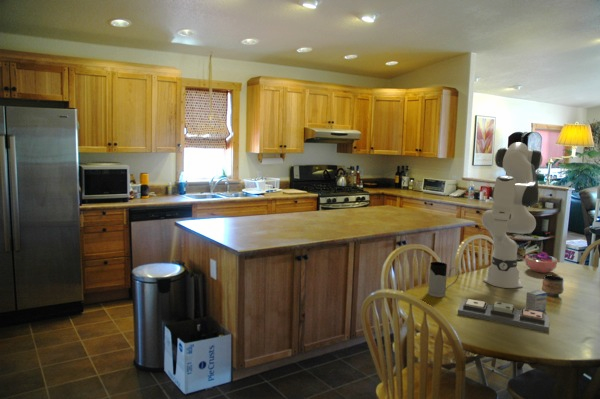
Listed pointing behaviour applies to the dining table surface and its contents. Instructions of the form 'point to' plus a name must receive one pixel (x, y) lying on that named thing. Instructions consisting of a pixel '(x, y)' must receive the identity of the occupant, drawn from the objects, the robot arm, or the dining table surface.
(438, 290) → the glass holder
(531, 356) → the dining table surface
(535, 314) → the key three
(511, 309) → the key two
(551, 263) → the cell model
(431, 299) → the dining table surface
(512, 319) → the key panel
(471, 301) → the key one
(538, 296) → the medicine box
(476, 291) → the dining table surface
